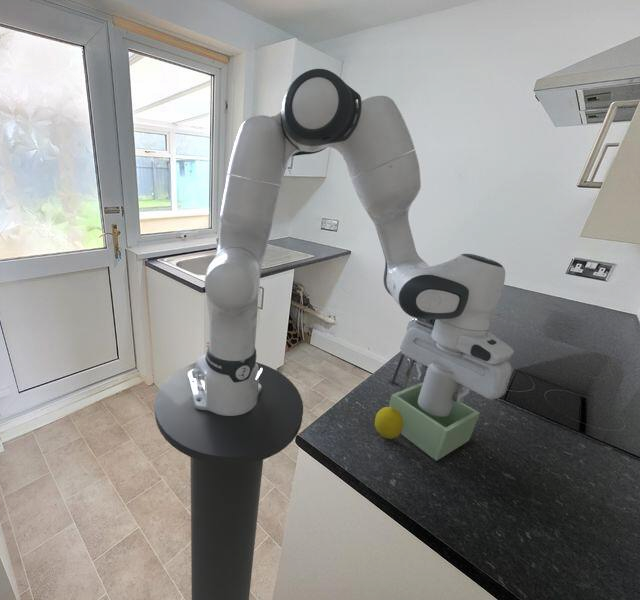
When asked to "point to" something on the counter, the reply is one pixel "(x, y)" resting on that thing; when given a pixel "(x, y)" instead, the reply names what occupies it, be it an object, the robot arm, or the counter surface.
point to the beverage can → (437, 391)
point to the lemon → (388, 422)
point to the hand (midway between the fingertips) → (438, 390)
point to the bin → (433, 423)
